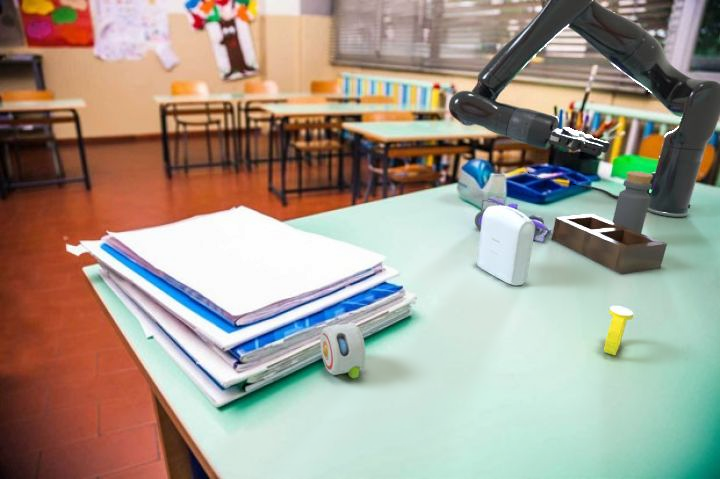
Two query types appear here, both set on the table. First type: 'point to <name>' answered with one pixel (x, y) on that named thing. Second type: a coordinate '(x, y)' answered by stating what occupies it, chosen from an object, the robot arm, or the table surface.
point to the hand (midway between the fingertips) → (605, 149)
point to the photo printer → (505, 244)
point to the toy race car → (501, 201)
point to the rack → (609, 243)
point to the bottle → (633, 201)
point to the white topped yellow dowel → (616, 328)
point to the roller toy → (343, 349)
